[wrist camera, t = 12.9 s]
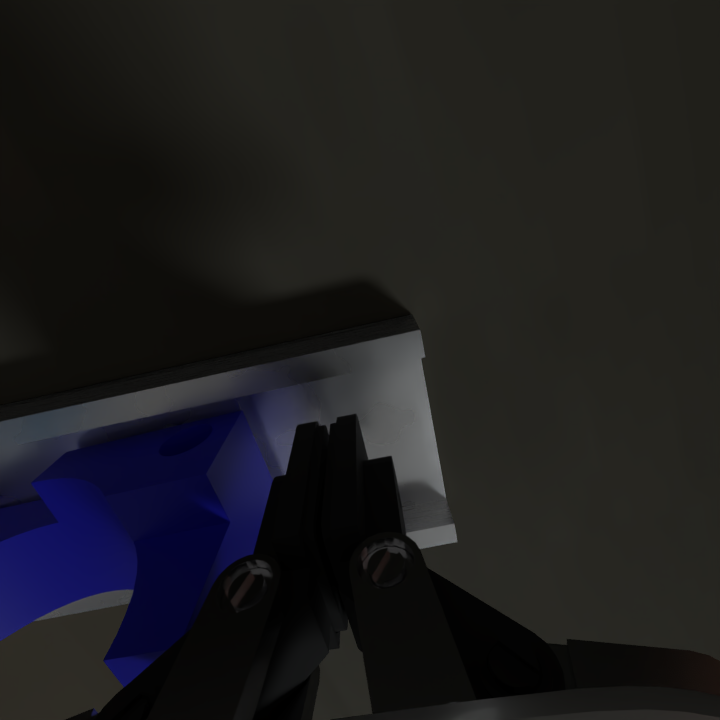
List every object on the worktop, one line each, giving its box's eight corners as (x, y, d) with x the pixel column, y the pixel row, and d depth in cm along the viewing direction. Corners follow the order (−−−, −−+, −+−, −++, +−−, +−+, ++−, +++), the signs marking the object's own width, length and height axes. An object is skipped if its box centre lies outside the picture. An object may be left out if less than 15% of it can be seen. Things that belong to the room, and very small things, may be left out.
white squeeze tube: (447, 509, 15) (469, 581, 12) (-29, 601, 16) (-108, 686, 13) (412, 314, 12) (430, 349, 9) (-163, 441, 13) (-299, 507, 10)
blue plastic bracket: (242, 409, 12) (139, 590, 7) (290, 521, 14) (240, 741, 8) (-92, 489, 14) (-405, 692, 8) (-12, 582, 15) (-228, 805, 10)
